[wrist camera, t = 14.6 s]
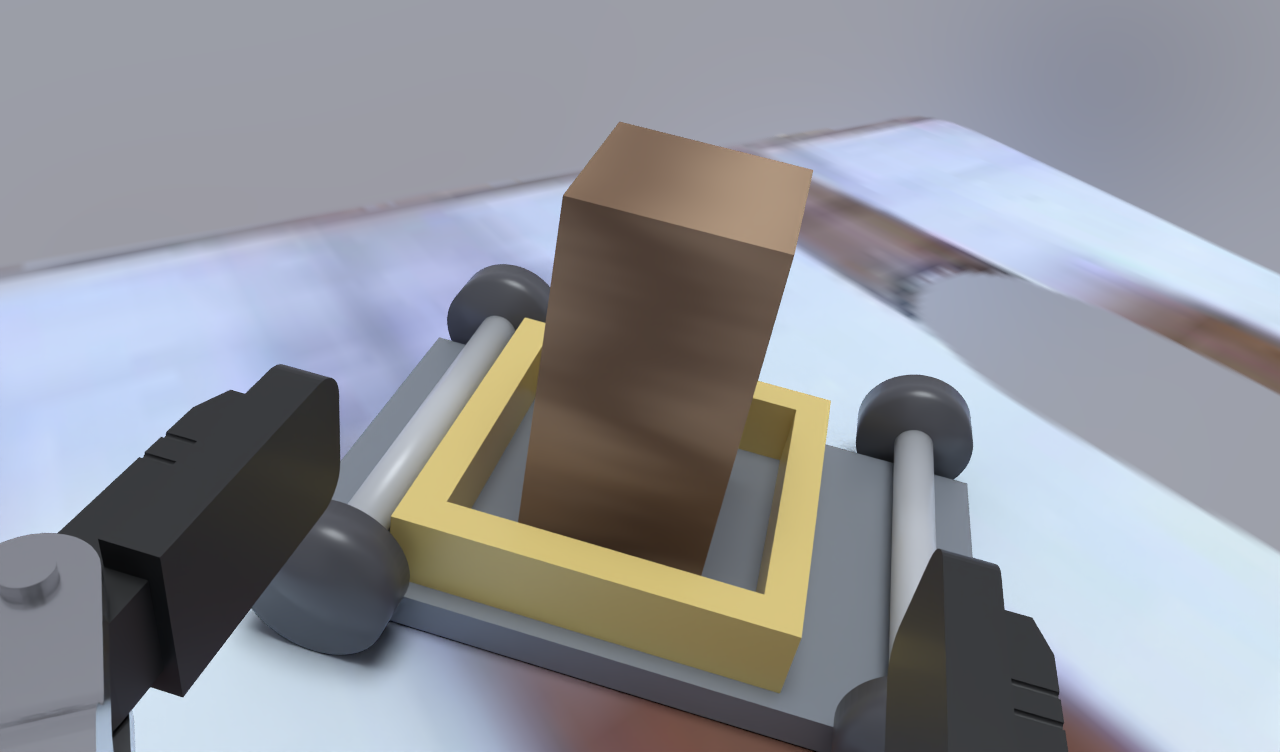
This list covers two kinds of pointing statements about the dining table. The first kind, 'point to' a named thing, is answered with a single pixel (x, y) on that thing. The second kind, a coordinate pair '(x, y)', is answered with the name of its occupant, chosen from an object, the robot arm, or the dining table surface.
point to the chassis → (623, 584)
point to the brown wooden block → (656, 340)
